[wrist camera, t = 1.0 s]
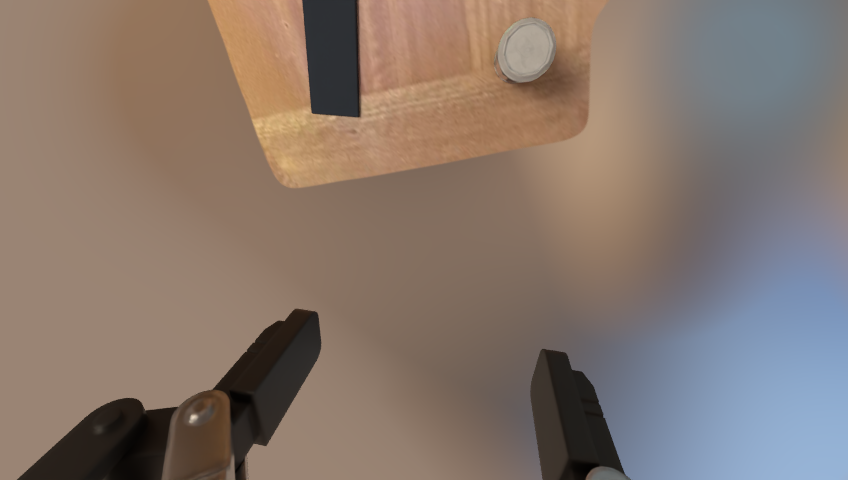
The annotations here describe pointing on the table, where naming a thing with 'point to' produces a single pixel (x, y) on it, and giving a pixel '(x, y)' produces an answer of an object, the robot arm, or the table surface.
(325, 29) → the dark rectangular strip
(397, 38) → the table surface
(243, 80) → the table surface
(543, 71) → the beige cylinder
